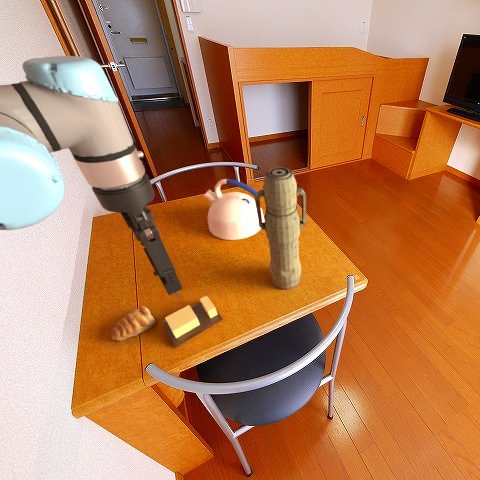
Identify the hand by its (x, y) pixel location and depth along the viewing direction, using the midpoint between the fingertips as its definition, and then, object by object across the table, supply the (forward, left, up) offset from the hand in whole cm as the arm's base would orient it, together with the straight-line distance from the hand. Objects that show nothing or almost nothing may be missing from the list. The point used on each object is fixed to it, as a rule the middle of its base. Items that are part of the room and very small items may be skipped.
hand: (168, 279), depth 57 cm
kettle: (+30, +33, -19) cm, 49 cm away
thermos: (+28, -1, -19) cm, 34 cm away
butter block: (-1, +2, -18) cm, 18 cm away
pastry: (-10, +10, -19) cm, 24 cm away
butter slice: (+6, +2, -18) cm, 19 cm away
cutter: (0, 0, -3) cm, 3 cm away
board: (+1, +2, -19) cm, 19 cm away
